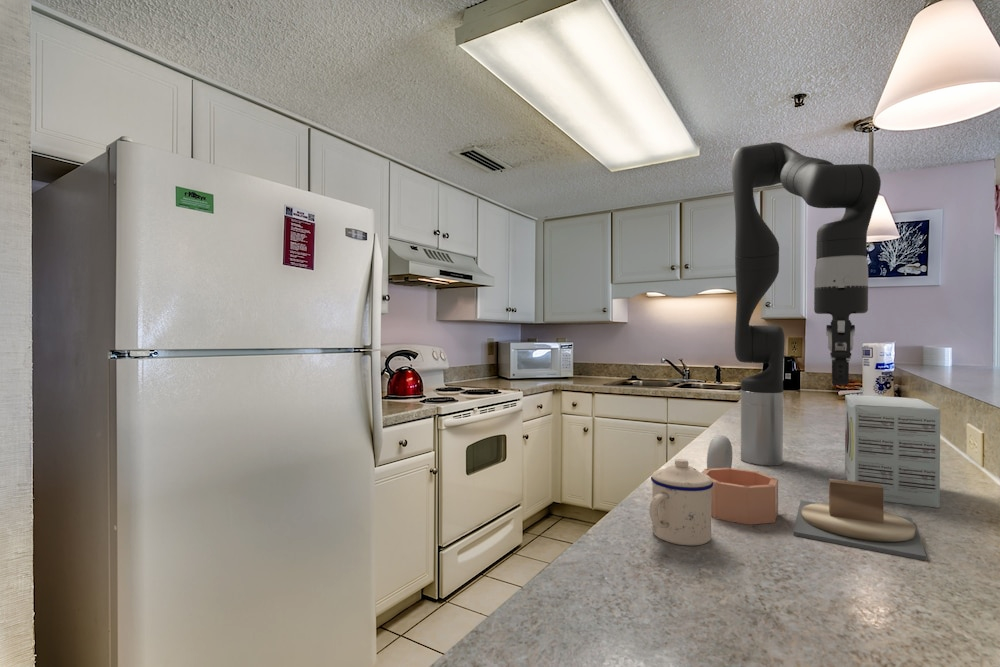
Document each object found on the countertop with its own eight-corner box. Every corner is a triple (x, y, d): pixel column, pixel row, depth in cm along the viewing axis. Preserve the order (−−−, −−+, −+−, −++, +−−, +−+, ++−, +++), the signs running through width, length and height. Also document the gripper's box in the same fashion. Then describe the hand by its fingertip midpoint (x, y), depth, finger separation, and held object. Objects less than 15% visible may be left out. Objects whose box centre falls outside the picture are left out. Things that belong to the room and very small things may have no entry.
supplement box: (842, 475, 114) (843, 394, 114) (919, 484, 108) (919, 398, 108) (852, 497, 99) (853, 403, 99) (942, 509, 92) (942, 408, 92)
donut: (722, 489, 103) (722, 439, 103) (704, 486, 105) (704, 437, 105) (734, 478, 111) (734, 432, 111) (717, 475, 113) (717, 430, 113)
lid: (800, 503, 93) (799, 467, 93) (903, 517, 86) (903, 478, 86) (803, 530, 80) (803, 488, 80) (926, 549, 73) (926, 502, 73)
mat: (800, 503, 95) (800, 500, 95) (911, 521, 86) (911, 517, 86) (793, 535, 80) (793, 531, 80) (926, 560, 71) (926, 556, 71)
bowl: (708, 496, 99) (708, 464, 99) (780, 508, 92) (780, 474, 92) (693, 514, 89) (693, 479, 89) (772, 529, 82) (773, 491, 82)
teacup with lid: (672, 520, 86) (673, 450, 86) (724, 537, 79) (725, 461, 79) (626, 537, 79) (626, 461, 79) (679, 557, 72) (679, 474, 72)
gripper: (815, 288, 94) (814, 376, 95) (813, 283, 82) (812, 385, 83) (865, 286, 90) (864, 379, 91) (871, 281, 78) (870, 388, 79)
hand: (839, 381), depth 87 cm, fingers open, 8 cm apart
